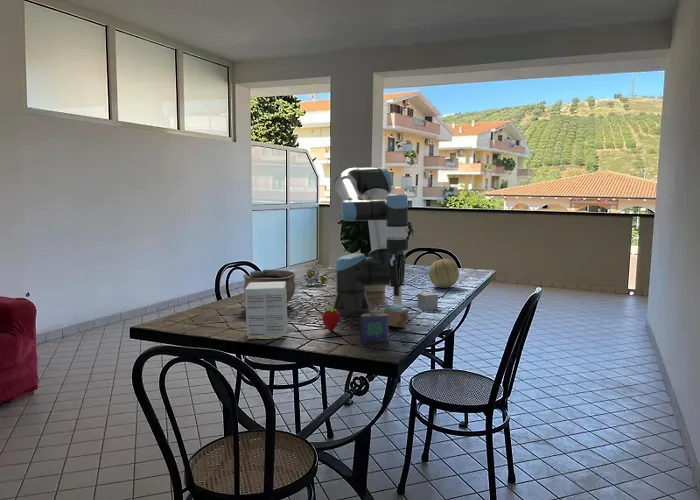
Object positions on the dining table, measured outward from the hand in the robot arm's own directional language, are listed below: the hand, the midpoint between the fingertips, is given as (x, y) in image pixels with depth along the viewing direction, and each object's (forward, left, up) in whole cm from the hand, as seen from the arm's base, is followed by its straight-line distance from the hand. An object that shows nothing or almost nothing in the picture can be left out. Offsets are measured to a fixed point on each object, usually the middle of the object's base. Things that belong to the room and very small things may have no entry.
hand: (397, 304), depth 182 cm
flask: (-11, -17, -9) cm, 22 cm away
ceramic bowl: (-47, +40, -9) cm, 63 cm away
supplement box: (-46, -2, -9) cm, 47 cm away
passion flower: (-26, +90, -9) cm, 94 cm away
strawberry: (-24, -3, -9) cm, 26 cm away
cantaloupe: (+37, +68, -9) cm, 78 cm away
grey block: (+18, +27, -8) cm, 34 cm away
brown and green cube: (0, 0, -2) cm, 2 cm away
